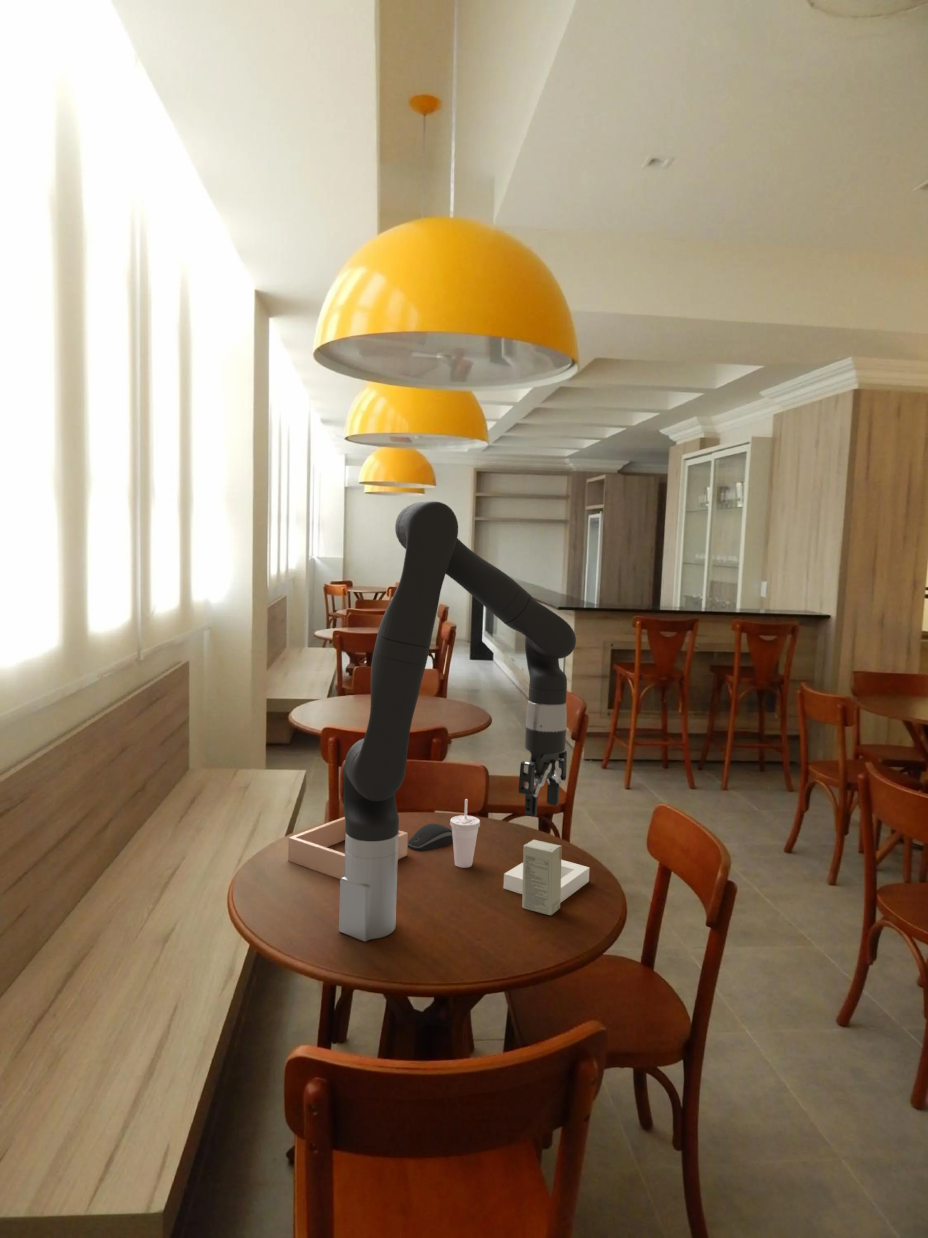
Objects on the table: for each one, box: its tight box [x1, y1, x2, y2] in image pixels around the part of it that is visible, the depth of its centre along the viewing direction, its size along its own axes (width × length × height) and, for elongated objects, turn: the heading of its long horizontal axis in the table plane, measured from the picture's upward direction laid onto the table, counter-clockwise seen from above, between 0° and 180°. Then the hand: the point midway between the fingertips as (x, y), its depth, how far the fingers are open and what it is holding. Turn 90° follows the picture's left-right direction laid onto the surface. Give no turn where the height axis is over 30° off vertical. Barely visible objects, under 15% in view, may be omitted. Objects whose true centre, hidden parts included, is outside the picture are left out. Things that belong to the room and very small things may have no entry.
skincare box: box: [521, 839, 563, 916], centre depth 149 cm, size 6×4×12 cm
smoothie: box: [449, 798, 481, 869], centre depth 168 cm, size 6×6×14 cm
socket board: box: [502, 859, 590, 904], centre depth 160 cm, size 14×12×4 cm
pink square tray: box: [287, 816, 409, 880], centre depth 170 cm, size 18×17×5 cm
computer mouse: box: [407, 823, 453, 852], centre depth 181 cm, size 7×12×4 cm, turn 138°
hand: (541, 809), depth 150 cm, fingers open, 8 cm apart
